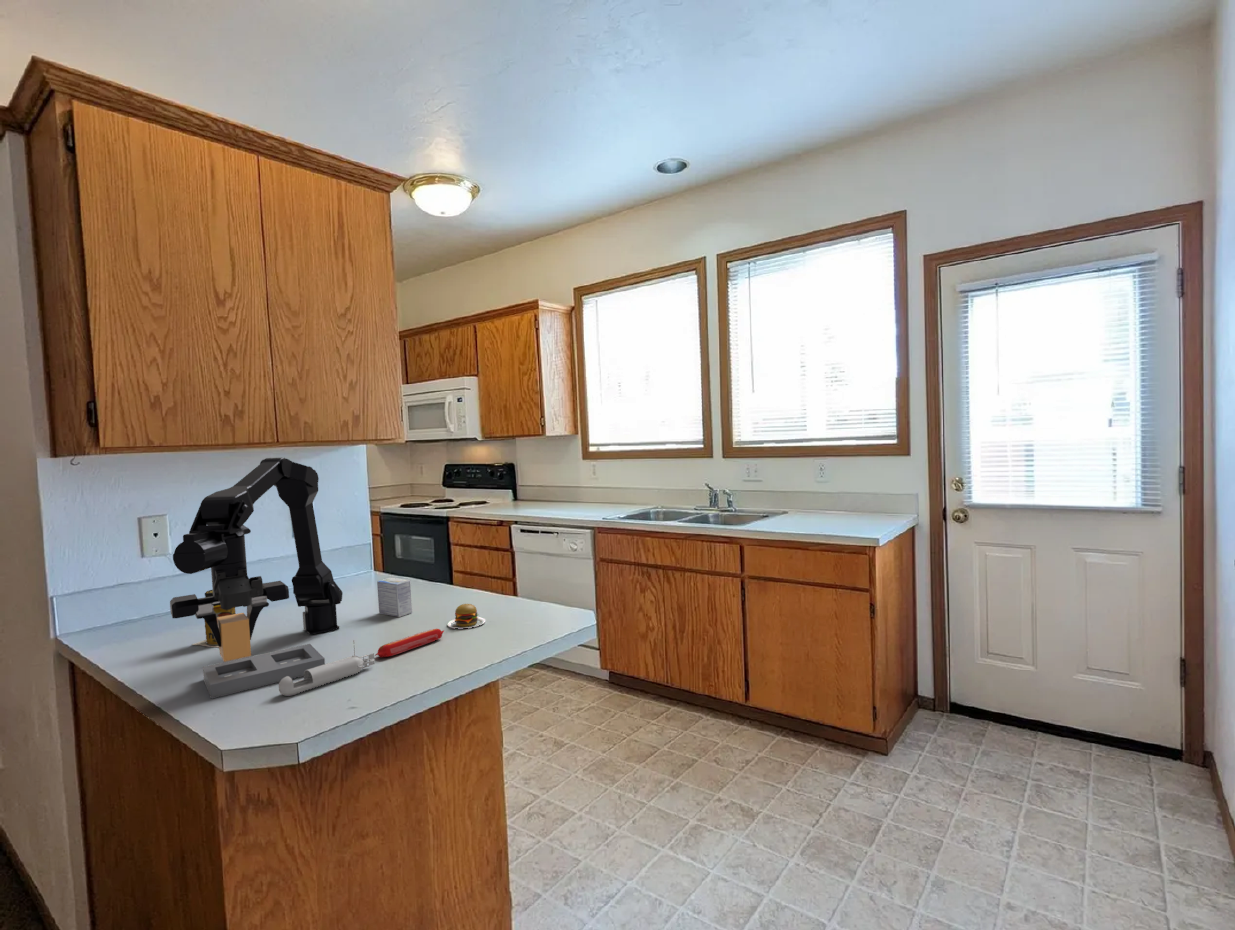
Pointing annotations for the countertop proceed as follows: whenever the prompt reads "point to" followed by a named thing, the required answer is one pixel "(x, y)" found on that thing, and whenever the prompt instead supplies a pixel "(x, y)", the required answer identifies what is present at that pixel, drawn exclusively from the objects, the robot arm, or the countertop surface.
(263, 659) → the socket plate
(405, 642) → the red sausage
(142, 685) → the countertop surface
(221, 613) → the condiment
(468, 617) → the hamburger
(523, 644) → the countertop surface
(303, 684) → the torpedo
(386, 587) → the medicine box
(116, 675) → the countertop surface
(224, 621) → the plug
